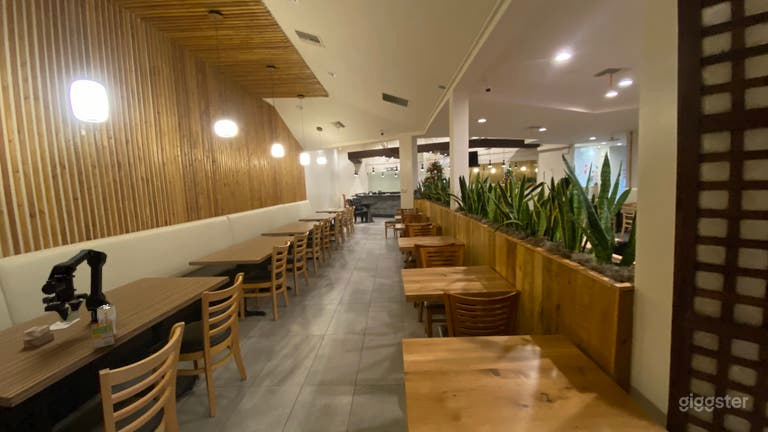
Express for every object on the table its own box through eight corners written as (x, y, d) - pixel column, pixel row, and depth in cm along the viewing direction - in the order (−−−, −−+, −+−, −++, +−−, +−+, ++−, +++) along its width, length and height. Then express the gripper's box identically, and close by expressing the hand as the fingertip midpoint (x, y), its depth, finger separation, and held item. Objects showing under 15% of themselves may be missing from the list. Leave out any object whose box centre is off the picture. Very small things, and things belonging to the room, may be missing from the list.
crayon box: (115, 341, 149) (112, 318, 148) (114, 343, 147) (111, 320, 146) (94, 346, 145) (91, 323, 144) (93, 349, 142) (91, 325, 141)
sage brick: (79, 317, 158) (78, 310, 157) (71, 321, 153) (70, 314, 152) (68, 318, 157) (67, 311, 156) (59, 322, 152) (58, 315, 152)
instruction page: (81, 318, 180) (81, 317, 180) (65, 328, 166) (65, 327, 166) (59, 321, 176) (59, 320, 176) (41, 331, 163) (41, 331, 163)
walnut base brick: (54, 340, 153) (53, 332, 153) (38, 347, 146) (37, 339, 146) (40, 340, 153) (39, 333, 153) (24, 347, 146) (23, 339, 146)
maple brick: (50, 332, 153) (49, 325, 152) (40, 338, 147) (38, 330, 147) (35, 334, 151) (34, 326, 151) (24, 340, 146) (23, 332, 145)
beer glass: (97, 339, 152) (94, 310, 151) (102, 333, 158) (99, 306, 157) (115, 335, 155) (112, 307, 154) (119, 330, 161) (116, 303, 160)
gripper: (63, 284, 161) (67, 312, 163) (29, 296, 143) (33, 328, 144) (87, 282, 163) (91, 310, 164) (56, 294, 145) (60, 325, 146)
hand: (69, 318), depth 155 cm, fingers closed on sage brick, 5 cm apart
